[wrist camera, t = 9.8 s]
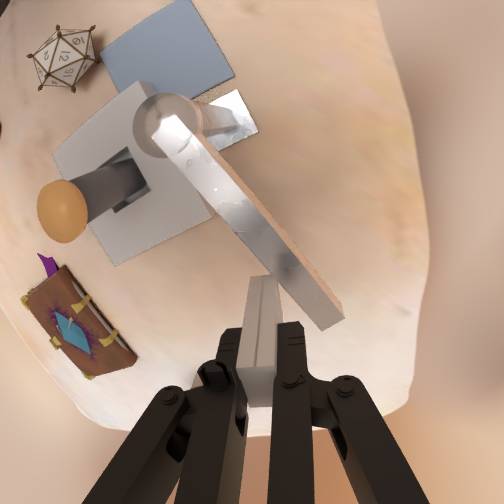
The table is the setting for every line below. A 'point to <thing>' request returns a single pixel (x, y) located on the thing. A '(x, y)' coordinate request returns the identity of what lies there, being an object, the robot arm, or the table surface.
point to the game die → (64, 58)
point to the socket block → (153, 170)
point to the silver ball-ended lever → (231, 199)
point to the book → (76, 324)
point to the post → (226, 120)
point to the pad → (168, 53)
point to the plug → (86, 198)
